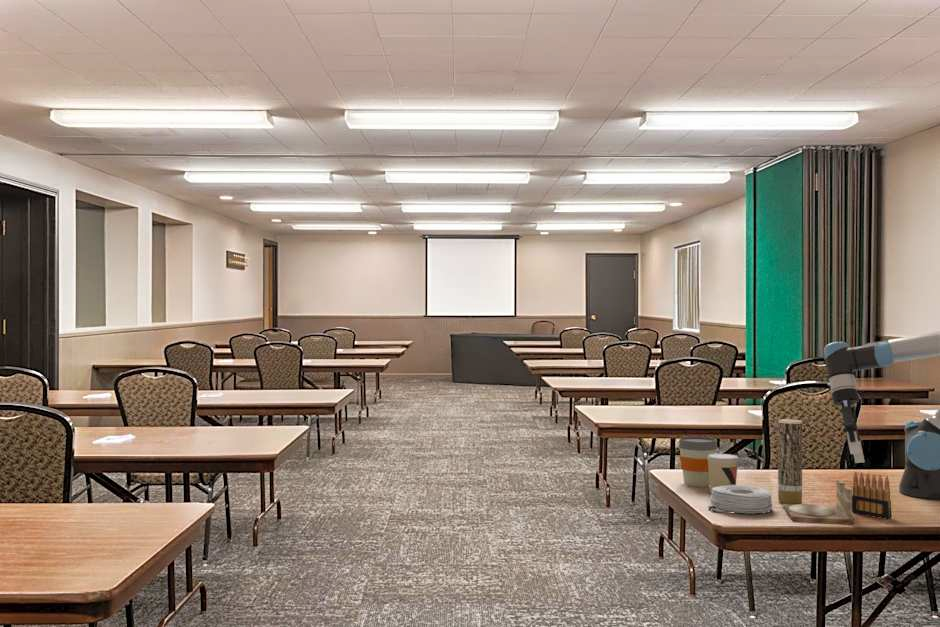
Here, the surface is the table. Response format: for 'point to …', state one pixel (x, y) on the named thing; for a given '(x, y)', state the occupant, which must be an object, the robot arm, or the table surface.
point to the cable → (740, 499)
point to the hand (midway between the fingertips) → (857, 458)
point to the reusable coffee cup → (696, 459)
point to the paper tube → (790, 461)
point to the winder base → (825, 509)
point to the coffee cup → (722, 470)
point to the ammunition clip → (871, 497)
